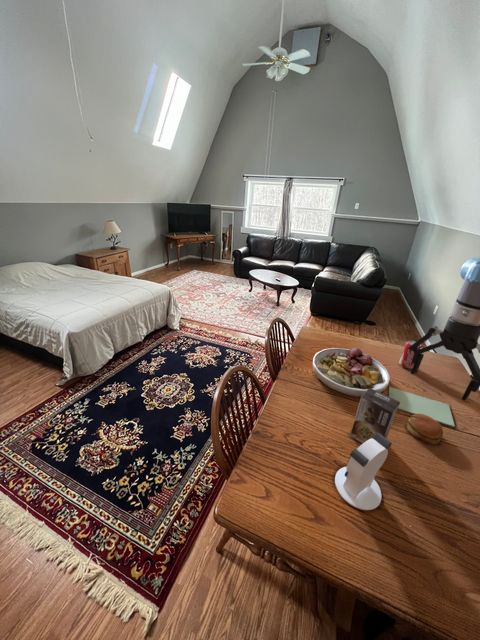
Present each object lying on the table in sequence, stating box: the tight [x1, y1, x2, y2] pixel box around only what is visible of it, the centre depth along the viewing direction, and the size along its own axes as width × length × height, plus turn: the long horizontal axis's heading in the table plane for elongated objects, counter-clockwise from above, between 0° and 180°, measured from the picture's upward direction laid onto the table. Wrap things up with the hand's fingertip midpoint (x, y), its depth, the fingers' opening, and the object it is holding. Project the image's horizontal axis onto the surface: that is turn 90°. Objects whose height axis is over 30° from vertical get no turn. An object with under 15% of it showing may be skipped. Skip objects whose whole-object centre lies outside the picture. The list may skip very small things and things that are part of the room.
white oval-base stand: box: [334, 433, 393, 511], centre depth 67 cm, size 12×11×15 cm
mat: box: [388, 386, 456, 428], centre depth 99 cm, size 20×12×1 cm, turn 63°
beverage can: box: [398, 340, 423, 369], centre depth 121 cm, size 6×6×12 cm
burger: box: [406, 414, 444, 445], centre depth 87 cm, size 10×9×5 cm
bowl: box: [312, 347, 391, 398], centre depth 112 cm, size 30×30×8 cm
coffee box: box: [349, 388, 400, 444], centre depth 81 cm, size 9×6×16 cm
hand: (437, 384), depth 79 cm, fingers open, 13 cm apart
